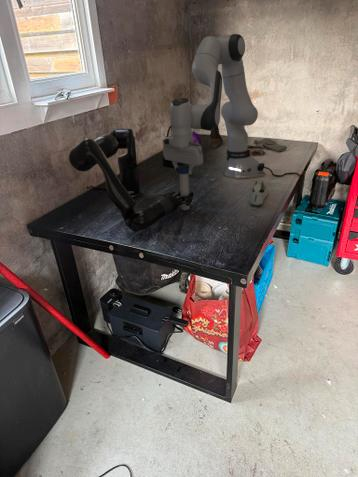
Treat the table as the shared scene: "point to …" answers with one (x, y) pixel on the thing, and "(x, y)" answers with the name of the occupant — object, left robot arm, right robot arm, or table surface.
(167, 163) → the handbag
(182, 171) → the lid
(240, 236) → the table surface
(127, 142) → the left robot arm
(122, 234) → the table surface
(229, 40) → the right robot arm
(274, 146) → the pair of gloves
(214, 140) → the boot
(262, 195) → the ballet flat
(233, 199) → the table surface
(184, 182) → the bottle
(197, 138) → the decorative orb
